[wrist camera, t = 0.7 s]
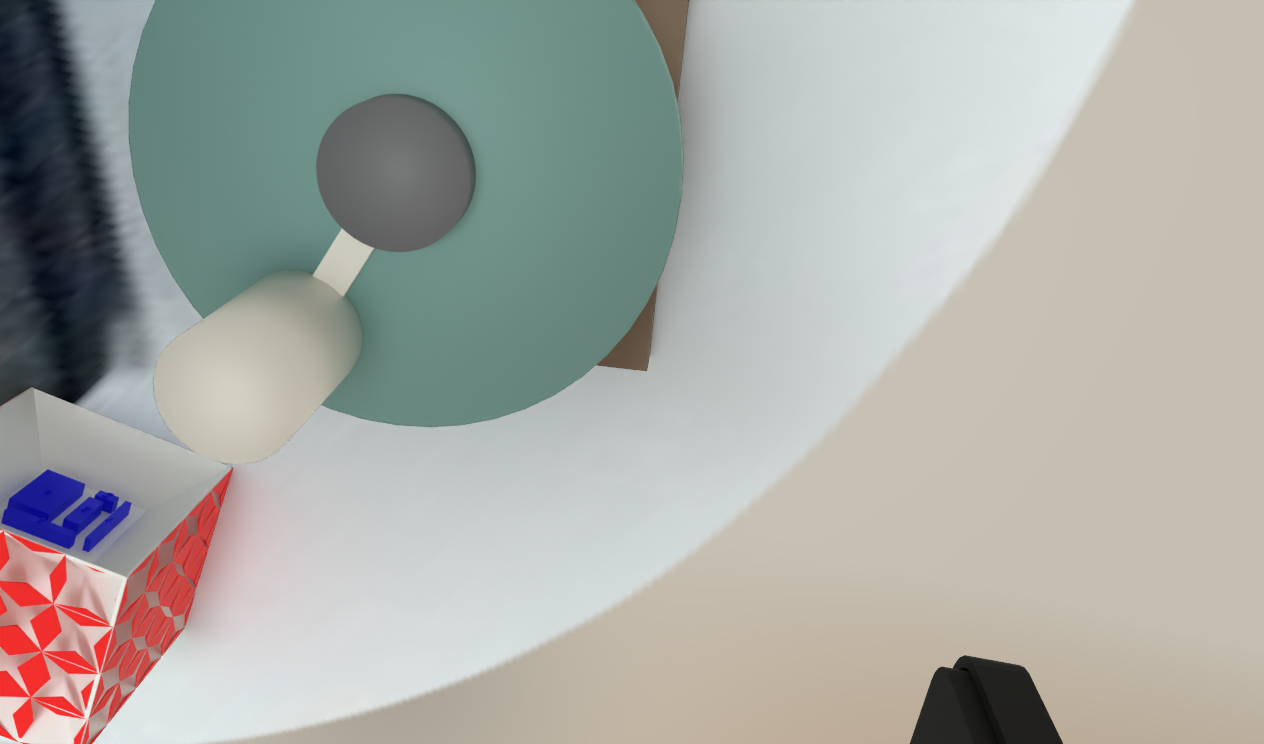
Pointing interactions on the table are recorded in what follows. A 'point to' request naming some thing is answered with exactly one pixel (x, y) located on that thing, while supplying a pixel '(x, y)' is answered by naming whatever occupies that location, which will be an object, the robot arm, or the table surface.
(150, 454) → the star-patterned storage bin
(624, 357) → the stand
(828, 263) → the table surface
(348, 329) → the handwheel
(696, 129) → the table surface
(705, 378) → the table surface
